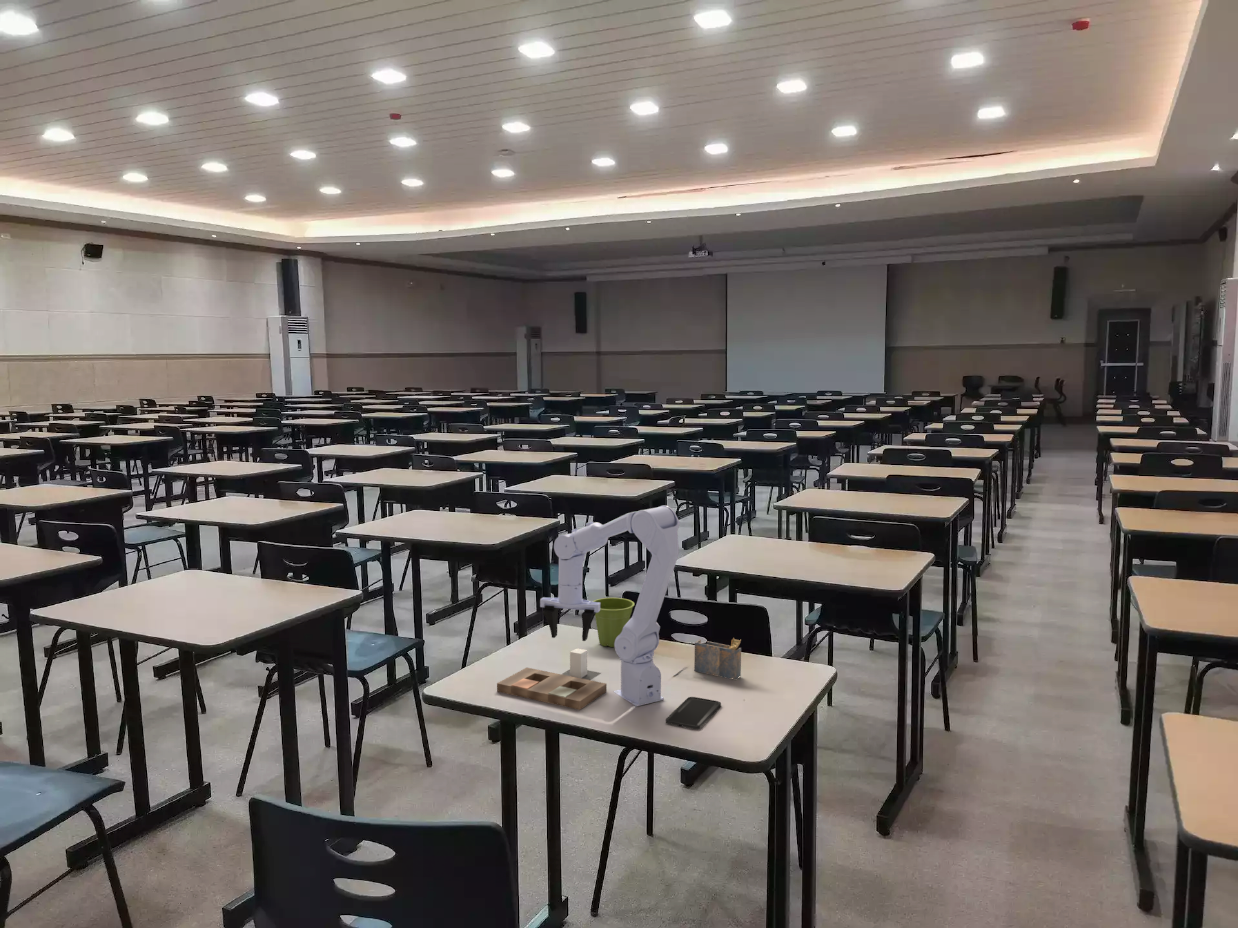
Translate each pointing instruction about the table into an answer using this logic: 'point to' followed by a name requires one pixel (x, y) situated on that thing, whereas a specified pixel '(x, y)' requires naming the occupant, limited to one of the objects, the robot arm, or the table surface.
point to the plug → (578, 663)
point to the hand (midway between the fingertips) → (569, 638)
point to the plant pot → (612, 618)
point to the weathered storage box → (718, 659)
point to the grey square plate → (589, 675)
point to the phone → (693, 713)
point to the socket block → (552, 688)
